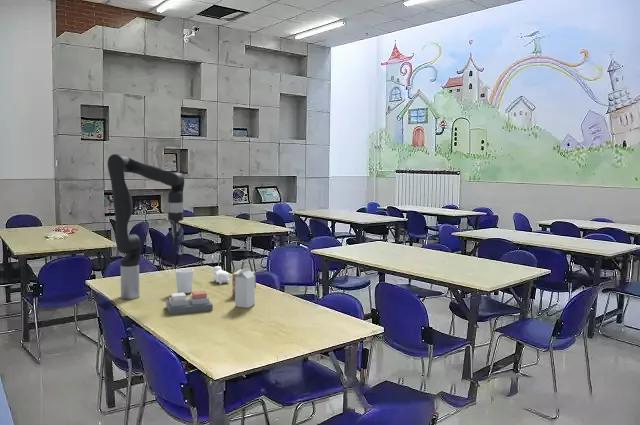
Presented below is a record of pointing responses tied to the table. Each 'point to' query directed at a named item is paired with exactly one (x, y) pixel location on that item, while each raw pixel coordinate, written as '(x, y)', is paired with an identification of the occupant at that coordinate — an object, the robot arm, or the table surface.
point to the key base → (189, 306)
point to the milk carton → (245, 289)
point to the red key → (199, 295)
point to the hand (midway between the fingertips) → (175, 244)
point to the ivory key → (178, 296)
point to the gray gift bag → (234, 280)
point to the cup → (184, 280)
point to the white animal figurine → (220, 275)
